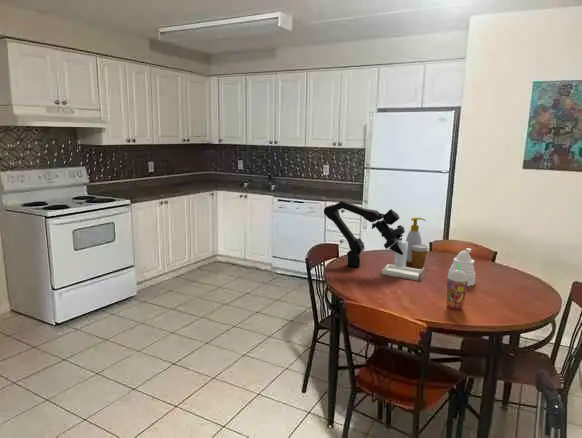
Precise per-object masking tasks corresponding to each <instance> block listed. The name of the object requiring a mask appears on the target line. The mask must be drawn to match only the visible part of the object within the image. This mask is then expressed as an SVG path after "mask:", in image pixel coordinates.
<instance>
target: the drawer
mask: <svg viewBox="0 0 582 438" xmlns="http://www.w3.org/2000/svg"><path fill="white" fill-rule="evenodd" d="M381 271H382V273H381V275H383V276H389V277H390V276H391V277H395V278H402V279H407V280H412V281H413V280H414V281H418V282H419V281H422V279H423V277H424V276H425V273H426V267H422V268H416V267H408V266H405V267H398V266H395V265H394V264H389V263H388V264H387V265H386V266H384V268H383V269H382V270H381Z"/></svg>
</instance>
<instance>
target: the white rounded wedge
mask: <svg viewBox="0 0 582 438" xmlns="http://www.w3.org/2000/svg"><path fill="white" fill-rule="evenodd" d="M396 242H397V241H396ZM398 246H399V248H400V249H401V251H402V252H403V254H402V255H401V254H399V253H397V252H395V251H394V252H395V254H394V264H393V265H395V266H398V267H407V262H406V259H407V248H408V242H407V241H406V240H402V241H398Z"/></svg>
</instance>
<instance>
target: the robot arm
mask: <svg viewBox="0 0 582 438" xmlns="http://www.w3.org/2000/svg"><path fill="white" fill-rule="evenodd" d="M342 209H343V210H346V211H348V212H351V213H353V214H355V215H359V216H361V217H363V219H365V220H367V221H368V222H370V223H371V229H372V230H373V229H375V228H376V229H377V230H378V232H379V234H380V236H381V238H384V240H385V243H384V244H383V247H384V248H385V250H387V249H388V250H390V251H393V252H397V253H399V254H401V255H402V254H403V252H402V251H401V249H400V248H399V246H398V241H403V236H404V235H403V234H404V233H406V231H405V227H404V226H402V225H401V224H400V225H397V228H395V229H394V228H393V227H390V226H392V225H394V223H396V222H397V221H398V220H400V215H399V214H398V213H397V212H396V211H395V210H393V209H392V208H391V209H388V211H387V212H386V213H385V214H384V213H381V212H380V211H378V210H375V209H370V208H364V207H362V206H358V205H356V204H353V203H351V202H349V201H346V200H342V201H339V202H338V203H336V204H330V205H328V206H327V205H326V206H325V208H324V209H323V214H324V216H326V218H327V219H329V220H331V222H333V223H334V224H335V226H336V228H338V230H339V232H340V233H341V234H342V235H343V237H344V238H345V240H346V241H347V243H348V247H349V251H348V252H346V256H347V265H346V267H348V268H353V269H354V268H355V269H358V268H359V267H360V266H361V265H362V264H361V262H362V261H361V260H362V258H361V255H362V254H361V253H362V252H364V251H365V244H364V243H365V242H363V241H362V239H361V238H360V237H359V238H357V237H355V235H354V234H353V233H352V231H351V230H350V229H349V227H348V226H347V224H346V223H345V221H344V220H343V219H342V218H341V215H340V212H339V211H340V210H342ZM396 241H397V242H396Z"/></svg>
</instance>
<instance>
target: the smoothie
mask: <svg viewBox="0 0 582 438" xmlns="http://www.w3.org/2000/svg"><path fill="white" fill-rule="evenodd" d="M446 280H447V283H446V287H447V288H446V305H447V308H449V309H450V310H453V311H460V310H462V308H463V307H464V303H465V298H466V292H467V287H468V286H467V283H468V278H467V276H466V274H465V272H463V271H462V270H460V264H458V270H453V271H452V272H451V273H450V274H449V273H448V274H447V279H446Z"/></svg>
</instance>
